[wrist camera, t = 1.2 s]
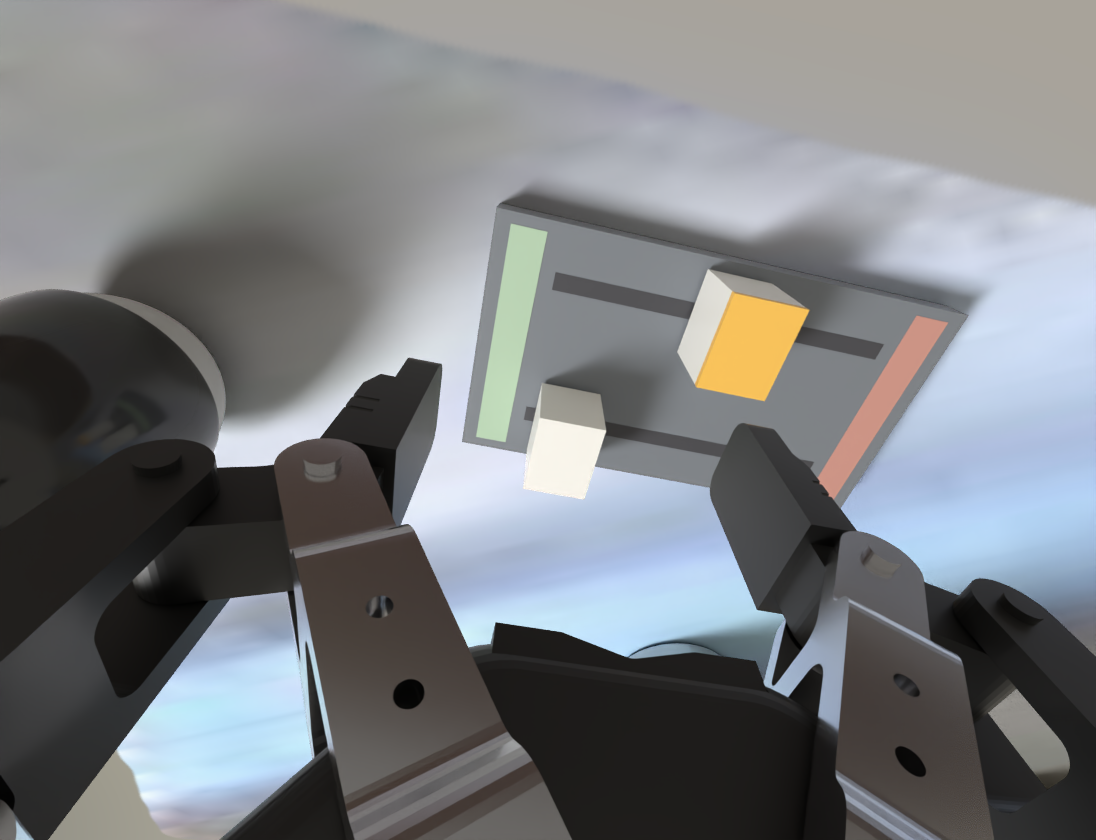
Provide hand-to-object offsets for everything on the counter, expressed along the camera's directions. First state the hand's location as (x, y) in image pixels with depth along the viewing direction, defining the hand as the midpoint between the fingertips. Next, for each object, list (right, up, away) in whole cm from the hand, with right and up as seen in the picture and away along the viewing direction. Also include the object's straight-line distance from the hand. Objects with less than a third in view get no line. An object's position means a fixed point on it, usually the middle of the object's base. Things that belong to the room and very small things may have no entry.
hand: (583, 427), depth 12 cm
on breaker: (0, 0, +14) cm, 14 cm away
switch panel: (+7, +3, +14) cm, 16 cm away
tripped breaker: (+7, +5, +11) cm, 14 cm away
